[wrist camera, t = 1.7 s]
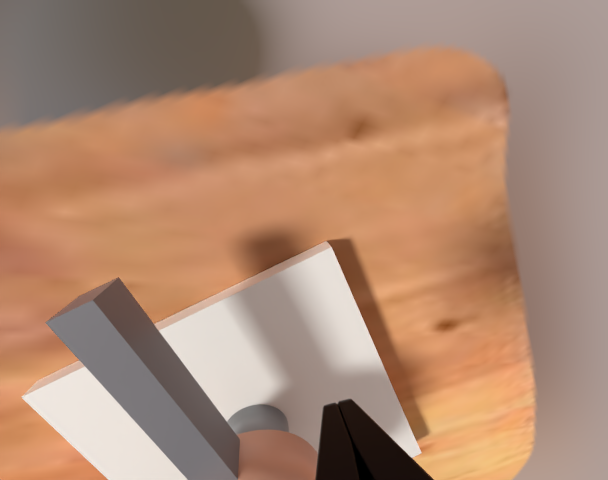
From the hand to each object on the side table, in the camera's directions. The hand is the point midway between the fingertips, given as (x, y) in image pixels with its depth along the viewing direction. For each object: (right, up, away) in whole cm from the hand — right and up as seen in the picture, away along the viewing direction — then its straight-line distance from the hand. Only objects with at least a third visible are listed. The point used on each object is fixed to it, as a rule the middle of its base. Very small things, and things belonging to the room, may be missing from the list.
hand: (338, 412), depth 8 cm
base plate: (-4, -7, +11) cm, 13 cm away
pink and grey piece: (-5, -4, +5) cm, 8 cm away
